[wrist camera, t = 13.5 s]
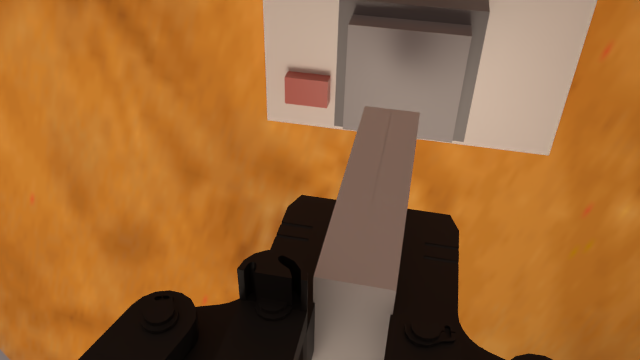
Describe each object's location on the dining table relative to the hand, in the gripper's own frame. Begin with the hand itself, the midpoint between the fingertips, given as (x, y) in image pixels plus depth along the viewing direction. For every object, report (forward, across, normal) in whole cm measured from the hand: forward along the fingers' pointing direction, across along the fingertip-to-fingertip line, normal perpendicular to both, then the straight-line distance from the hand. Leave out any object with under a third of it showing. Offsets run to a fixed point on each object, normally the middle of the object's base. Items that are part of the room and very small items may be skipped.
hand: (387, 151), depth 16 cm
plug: (+17, 0, 0) cm, 17 cm away
